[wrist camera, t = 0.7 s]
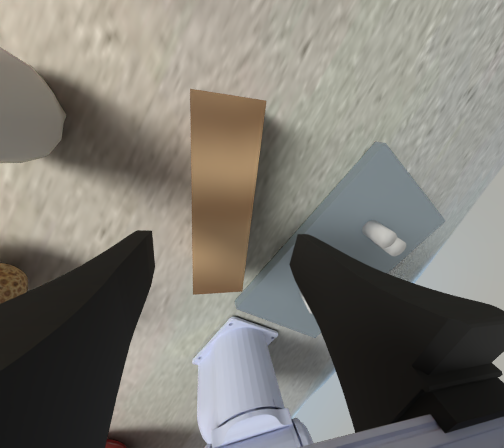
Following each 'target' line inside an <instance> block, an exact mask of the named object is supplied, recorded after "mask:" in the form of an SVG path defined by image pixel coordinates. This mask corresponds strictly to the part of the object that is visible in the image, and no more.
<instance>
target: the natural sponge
mask: <svg viewBox="0 0 504 448" xmlns="http://www.w3.org/2000/svg"><path fill="white" fill-rule="evenodd" d="M27 288H28V279H27V276H26V275H25V273H24V272H23V271H21V270H20V269H18V268H16V267H14V266H12V265H9V264H4V263H0V304H1V303H3V302H5V301H8V300H10V299H12V298H15V297H17V296H19V295H22V294H24V293H26V292H27Z"/></svg>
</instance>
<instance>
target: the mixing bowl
mask: <svg viewBox="0 0 504 448" xmlns="http://www.w3.org/2000/svg"><path fill="white" fill-rule="evenodd" d="M105 448H127V447H126V446H125V445H124V444H122V443H120V442H119V441H114V440H111V439H107V441H106V446H105Z"/></svg>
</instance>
